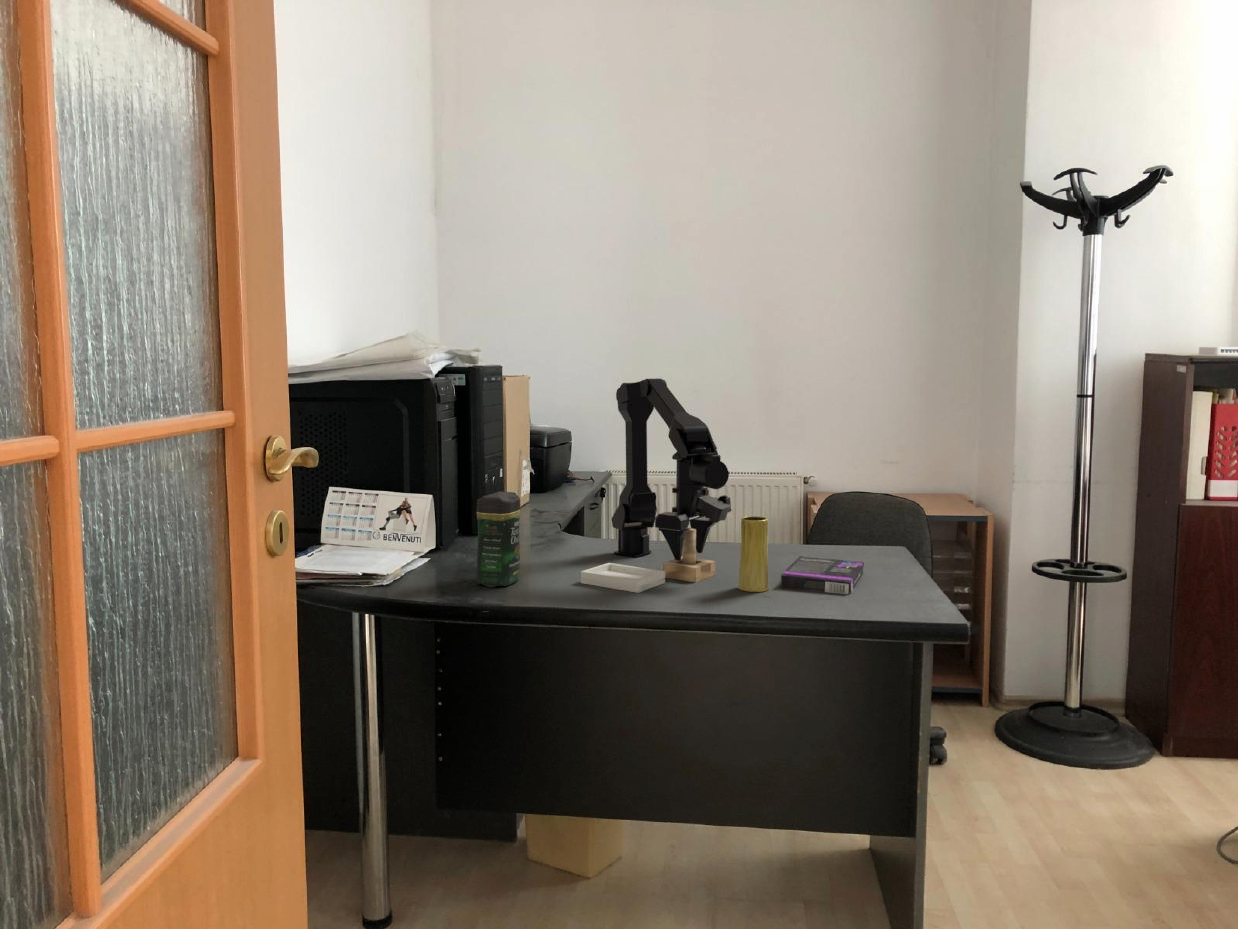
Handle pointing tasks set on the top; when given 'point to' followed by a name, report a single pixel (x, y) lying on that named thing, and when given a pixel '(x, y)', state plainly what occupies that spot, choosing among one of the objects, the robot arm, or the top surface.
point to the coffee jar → (498, 539)
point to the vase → (754, 554)
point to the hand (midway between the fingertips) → (689, 556)
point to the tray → (623, 577)
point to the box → (822, 575)
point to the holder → (689, 570)
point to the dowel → (689, 547)
